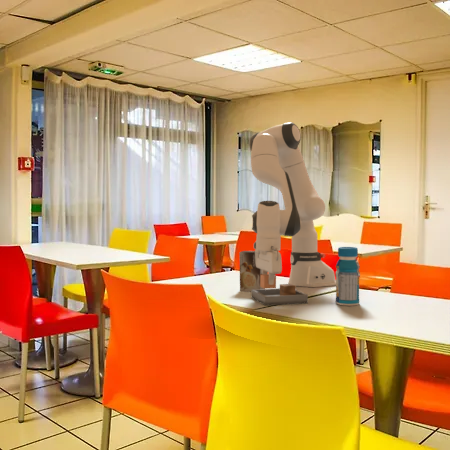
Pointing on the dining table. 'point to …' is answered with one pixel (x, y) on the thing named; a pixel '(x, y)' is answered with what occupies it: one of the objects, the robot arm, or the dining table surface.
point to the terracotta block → (266, 281)
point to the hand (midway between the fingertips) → (268, 283)
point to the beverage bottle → (347, 277)
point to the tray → (278, 297)
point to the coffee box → (249, 272)
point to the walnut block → (287, 289)
